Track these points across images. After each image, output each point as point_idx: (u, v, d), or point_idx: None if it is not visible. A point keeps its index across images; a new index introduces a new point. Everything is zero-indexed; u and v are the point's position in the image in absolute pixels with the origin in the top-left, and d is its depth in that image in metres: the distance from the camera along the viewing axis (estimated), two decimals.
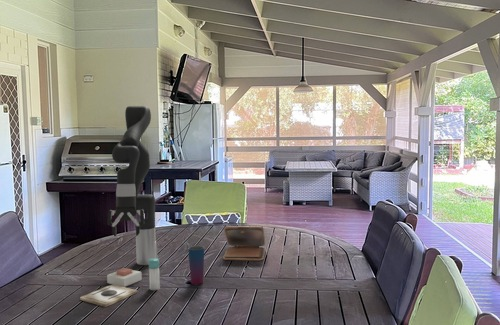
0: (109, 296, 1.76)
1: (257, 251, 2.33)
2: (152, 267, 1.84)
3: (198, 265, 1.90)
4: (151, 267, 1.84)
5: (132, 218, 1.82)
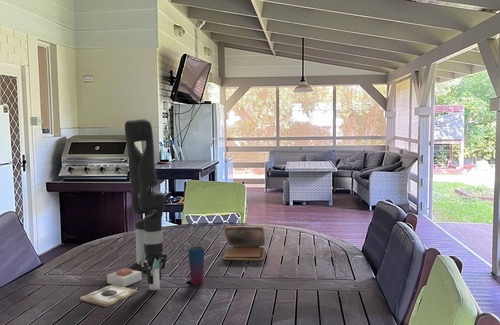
0: (109, 296, 1.76)
1: (257, 251, 2.33)
2: None
3: (198, 265, 1.90)
4: None
5: (160, 263, 1.87)
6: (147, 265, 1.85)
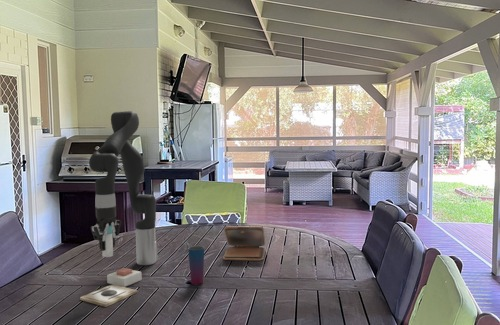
0: (109, 296, 1.76)
1: (257, 251, 2.33)
2: None
3: (198, 265, 1.90)
4: None
5: (113, 229, 1.78)
6: (99, 230, 1.75)
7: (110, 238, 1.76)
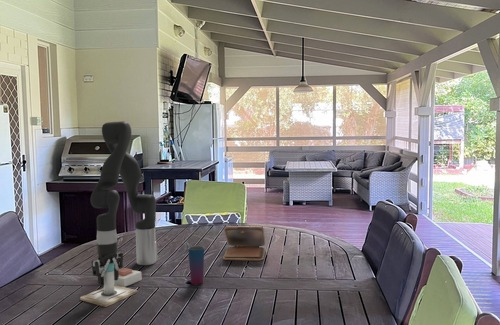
0: (109, 296, 1.76)
1: (257, 251, 2.33)
2: (106, 270, 1.77)
3: (198, 265, 1.90)
4: None
5: (115, 263, 1.79)
6: (99, 266, 1.76)
7: (112, 276, 1.78)
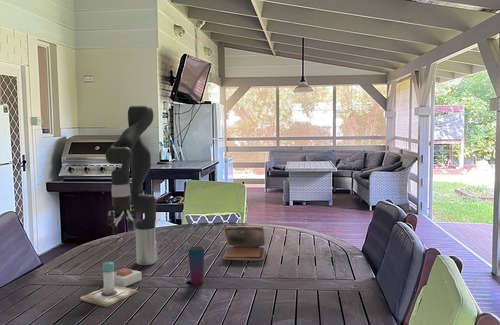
0: (109, 296, 1.76)
1: (257, 251, 2.33)
2: (106, 271, 1.76)
3: (198, 265, 1.90)
4: (105, 271, 1.77)
5: (129, 214, 1.94)
6: (114, 216, 1.91)
7: (111, 276, 1.78)
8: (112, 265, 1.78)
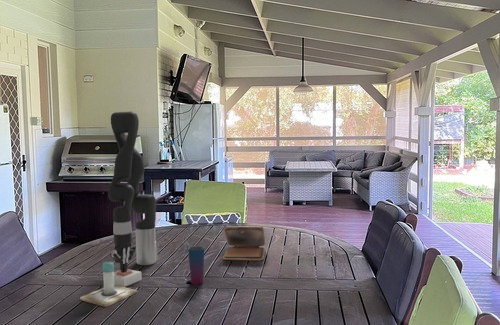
0: (109, 296, 1.76)
1: (257, 251, 2.33)
2: (106, 271, 1.76)
3: (198, 265, 1.90)
4: (105, 271, 1.77)
5: (128, 253, 1.95)
6: (118, 255, 1.94)
7: (111, 276, 1.78)
8: (112, 265, 1.78)
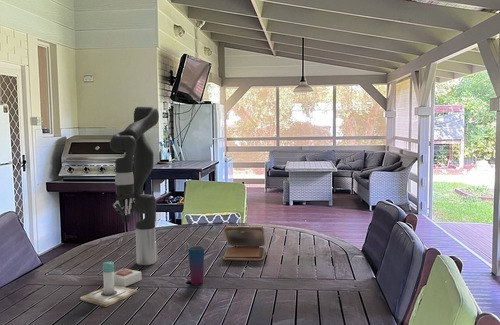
0: (109, 296, 1.76)
1: (257, 251, 2.33)
2: (106, 271, 1.76)
3: (198, 265, 1.90)
4: (105, 271, 1.77)
5: (130, 205, 1.95)
6: (120, 206, 1.94)
7: (111, 276, 1.78)
8: (112, 265, 1.78)
